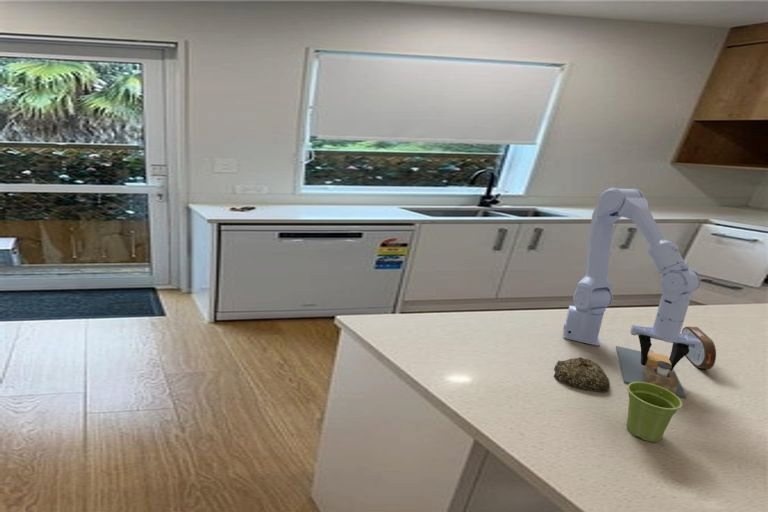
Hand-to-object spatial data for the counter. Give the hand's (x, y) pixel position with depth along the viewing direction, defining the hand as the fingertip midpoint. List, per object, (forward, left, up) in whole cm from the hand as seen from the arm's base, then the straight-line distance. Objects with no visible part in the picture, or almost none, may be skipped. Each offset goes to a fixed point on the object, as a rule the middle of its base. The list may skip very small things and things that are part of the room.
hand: (655, 366), depth 112 cm
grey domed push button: (0, -7, 0) cm, 7 cm away
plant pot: (-6, -28, -3) cm, 29 cm away
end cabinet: (0, -6, -2) cm, 7 cm away
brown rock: (-18, -11, -3) cm, 21 cm away
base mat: (-1, +2, -2) cm, 3 cm away
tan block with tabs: (0, 0, -2) cm, 2 cm away
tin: (+12, +16, -3) cm, 20 cm away
